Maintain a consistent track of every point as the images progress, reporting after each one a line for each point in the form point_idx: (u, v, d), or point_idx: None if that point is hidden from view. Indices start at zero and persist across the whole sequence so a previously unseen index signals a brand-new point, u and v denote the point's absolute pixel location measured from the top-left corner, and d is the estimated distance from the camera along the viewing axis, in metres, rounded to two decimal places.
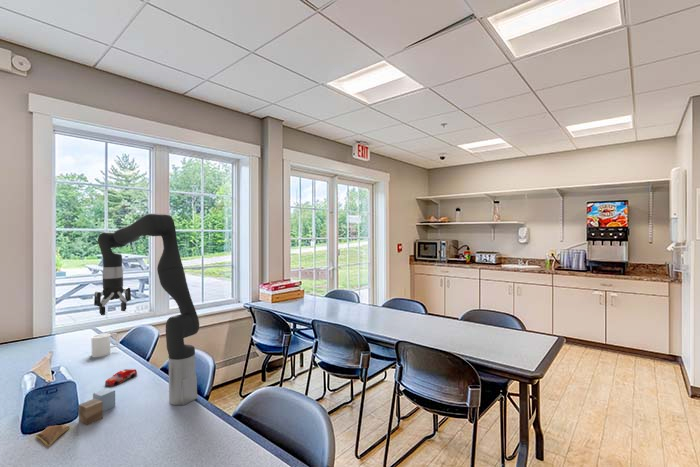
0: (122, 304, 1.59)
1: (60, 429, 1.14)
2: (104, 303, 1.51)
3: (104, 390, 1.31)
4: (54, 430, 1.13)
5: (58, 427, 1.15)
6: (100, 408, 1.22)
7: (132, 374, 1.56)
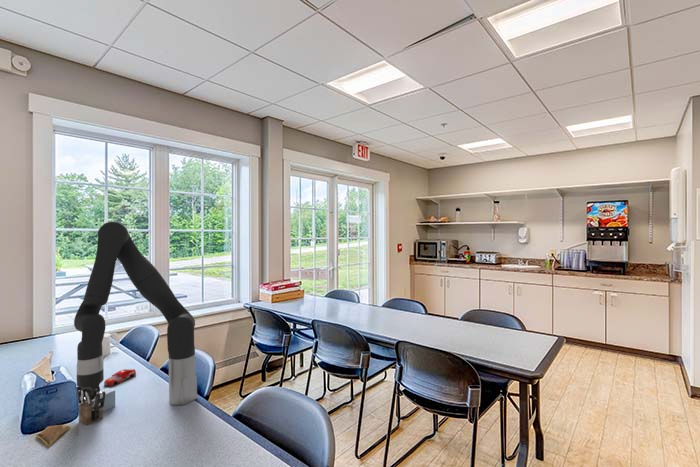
0: None
1: (60, 429, 1.14)
2: None
3: (104, 390, 1.31)
4: (54, 430, 1.13)
5: (58, 427, 1.15)
6: (100, 408, 1.22)
7: (131, 374, 1.56)
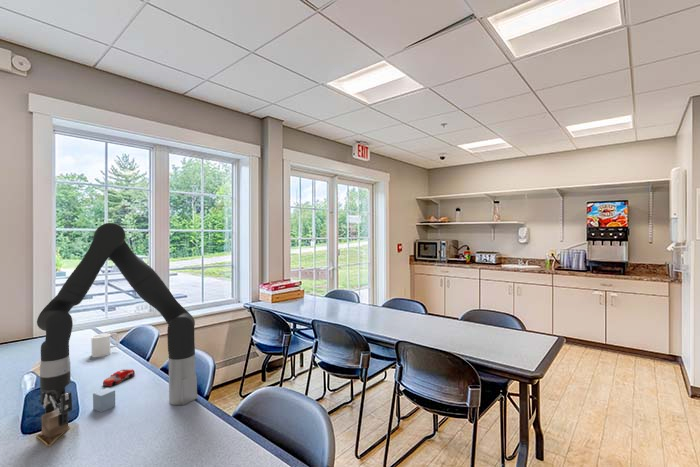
0: (50, 409, 1.14)
1: None
2: None
3: (104, 390, 1.31)
4: None
5: None
6: None
7: (130, 374, 1.56)
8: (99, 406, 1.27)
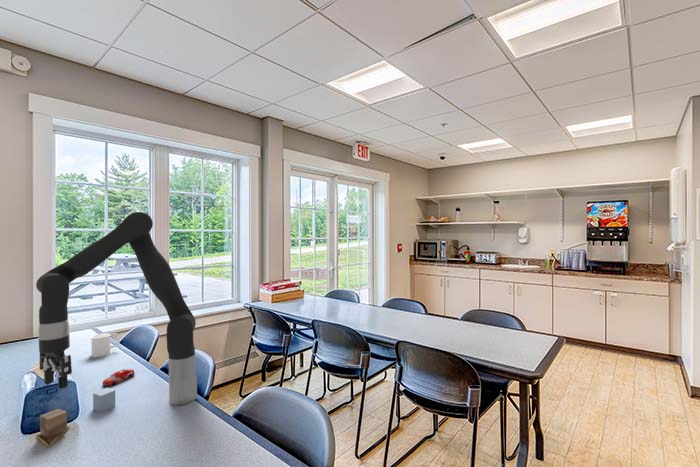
0: (49, 373, 1.14)
1: None
2: None
3: (104, 390, 1.31)
4: None
5: None
6: (64, 419, 1.13)
7: (129, 374, 1.56)
8: (99, 406, 1.27)
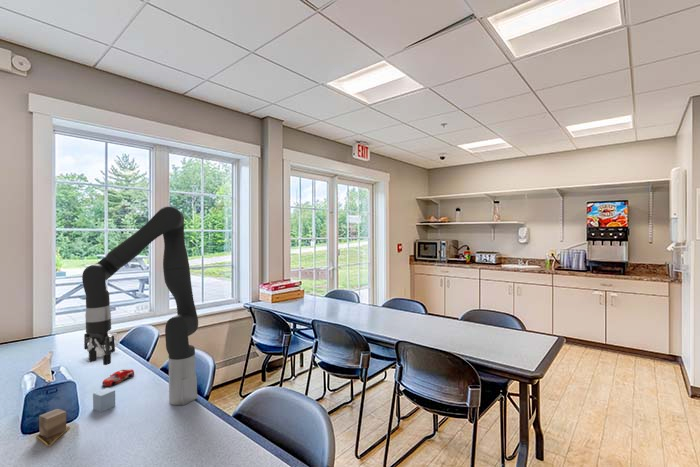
0: (93, 353, 1.29)
1: None
2: None
3: (104, 390, 1.31)
4: None
5: None
6: (63, 419, 1.13)
7: (129, 374, 1.56)
8: (99, 406, 1.27)
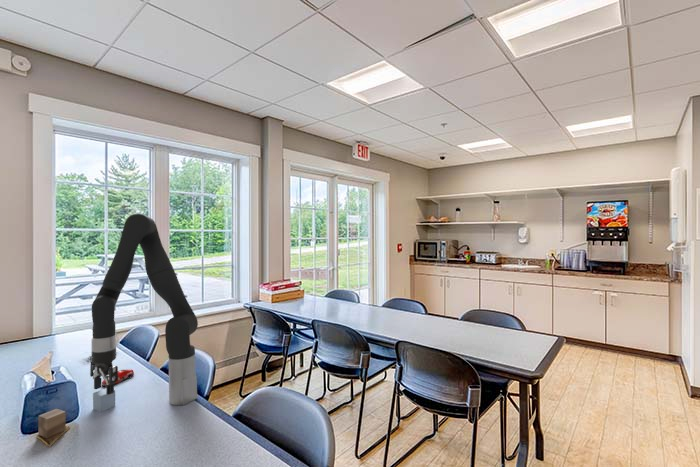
0: (98, 380, 1.32)
1: None
2: None
3: (104, 390, 1.31)
4: None
5: None
6: (63, 419, 1.13)
7: (129, 374, 1.56)
8: (99, 406, 1.27)
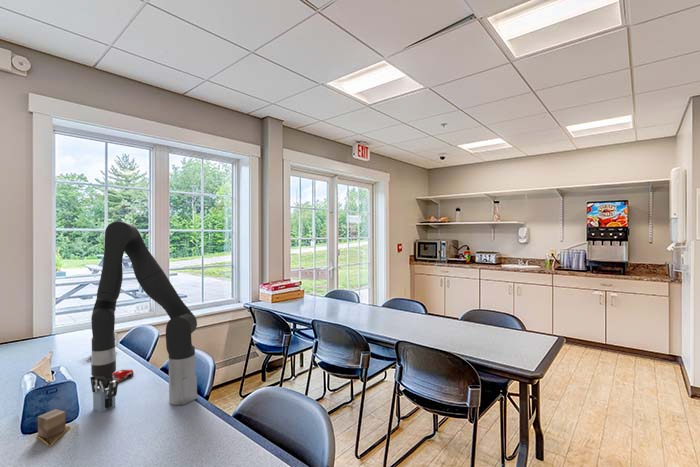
0: None
1: None
2: None
3: None
4: None
5: None
6: (62, 419, 1.13)
7: (129, 374, 1.56)
8: (99, 406, 1.27)
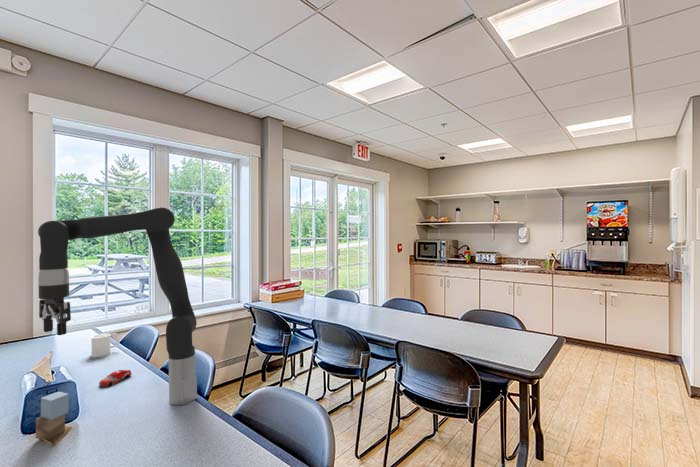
0: (49, 322, 1.14)
1: None
2: None
3: (55, 394, 1.13)
4: None
5: None
6: (62, 420, 1.13)
7: (126, 375, 1.55)
8: (48, 413, 1.09)
